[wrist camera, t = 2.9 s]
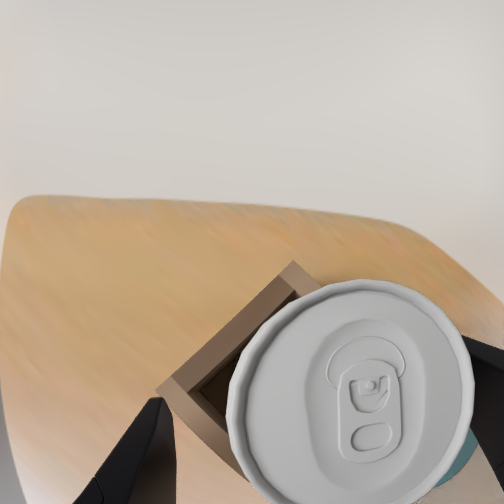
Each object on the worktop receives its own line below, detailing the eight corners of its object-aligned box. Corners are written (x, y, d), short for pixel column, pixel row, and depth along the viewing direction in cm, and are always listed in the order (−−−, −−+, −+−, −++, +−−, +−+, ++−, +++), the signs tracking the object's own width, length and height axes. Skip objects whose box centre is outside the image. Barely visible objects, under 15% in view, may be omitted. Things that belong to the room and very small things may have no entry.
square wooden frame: (392, 382, 15) (422, 379, 12) (287, 493, 13) (295, 517, 10) (285, 283, 18) (293, 260, 14) (173, 389, 15) (154, 390, 12)
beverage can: (329, 345, 16) (462, 264, 5) (333, 429, 14) (476, 490, 3) (241, 349, 16) (220, 274, 5) (243, 436, 14) (226, 545, 3)
